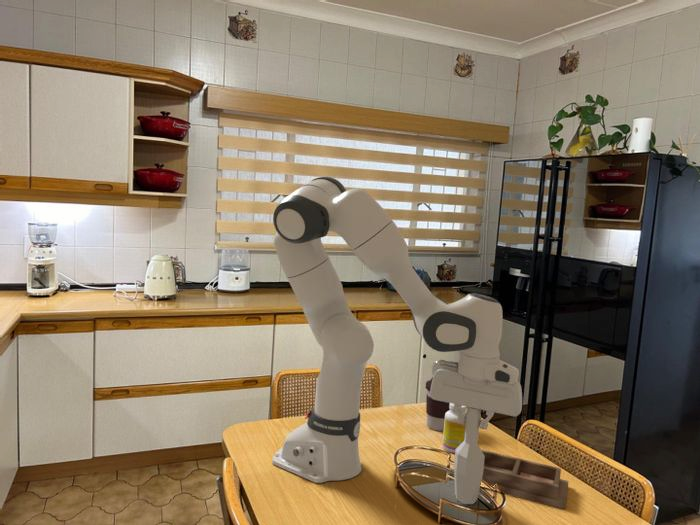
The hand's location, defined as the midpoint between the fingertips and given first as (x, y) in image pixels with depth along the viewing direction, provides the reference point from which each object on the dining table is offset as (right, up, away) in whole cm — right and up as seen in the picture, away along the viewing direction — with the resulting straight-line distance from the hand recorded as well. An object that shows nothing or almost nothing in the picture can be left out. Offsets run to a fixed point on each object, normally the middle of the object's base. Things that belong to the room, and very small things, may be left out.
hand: (472, 425), depth 125 cm
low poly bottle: (-1, -18, +2) cm, 18 cm away
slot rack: (+13, -18, +11) cm, 24 cm away
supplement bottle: (+1, -15, +29) cm, 33 cm away
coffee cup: (-1, -14, +44) cm, 46 cm away
